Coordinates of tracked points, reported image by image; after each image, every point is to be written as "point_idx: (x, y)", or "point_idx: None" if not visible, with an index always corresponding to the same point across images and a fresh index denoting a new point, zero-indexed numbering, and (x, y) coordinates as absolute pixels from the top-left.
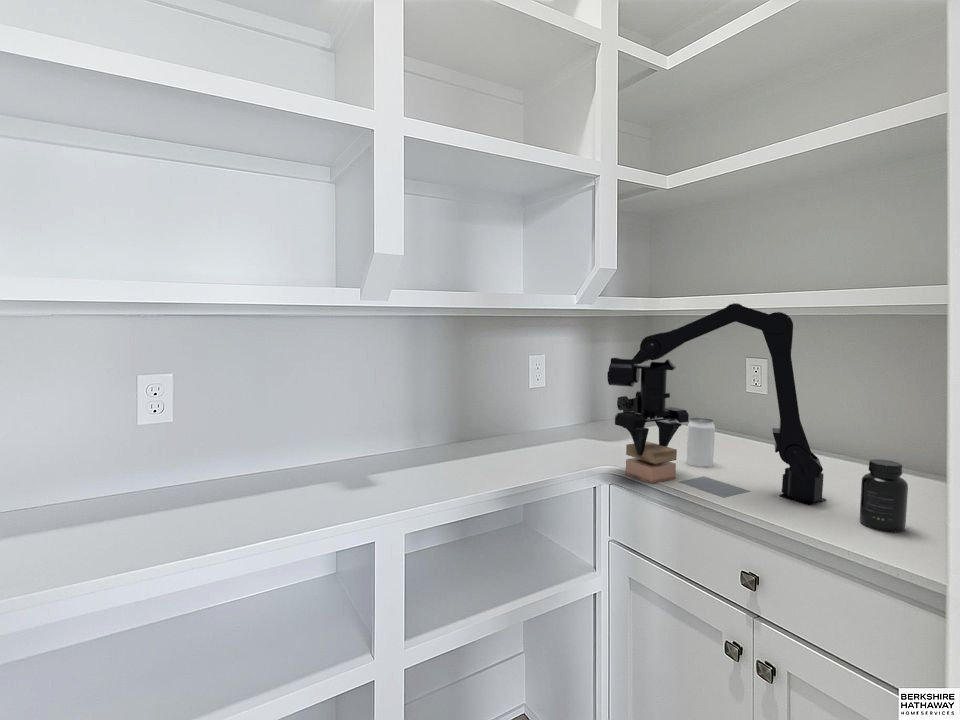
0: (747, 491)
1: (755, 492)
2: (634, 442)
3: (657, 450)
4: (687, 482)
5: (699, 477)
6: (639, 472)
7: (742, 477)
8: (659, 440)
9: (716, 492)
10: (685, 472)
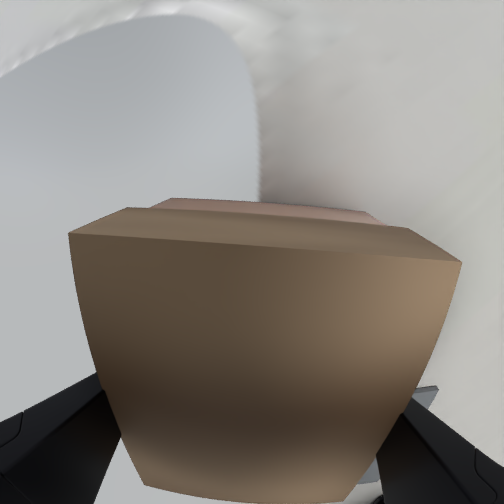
0: (367, 482)
1: None
2: (36, 413)
3: (204, 482)
4: None
5: (415, 394)
6: None
7: (493, 405)
8: (419, 443)
9: None
10: (466, 313)
